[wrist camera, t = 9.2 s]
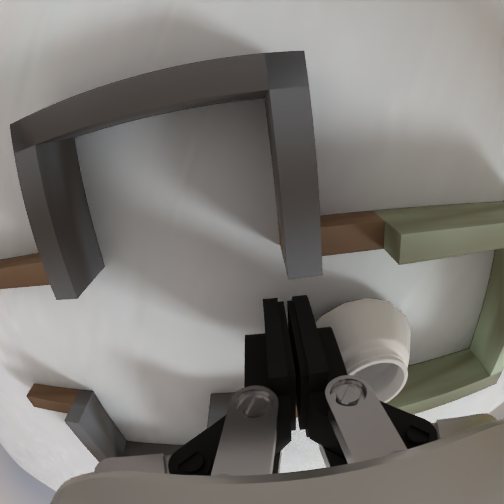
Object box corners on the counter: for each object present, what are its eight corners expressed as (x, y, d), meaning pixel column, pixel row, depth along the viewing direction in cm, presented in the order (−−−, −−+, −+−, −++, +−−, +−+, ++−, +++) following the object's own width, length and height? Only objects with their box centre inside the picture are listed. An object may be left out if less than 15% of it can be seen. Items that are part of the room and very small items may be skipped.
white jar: (292, 306, 12) (304, 387, 14) (303, 355, 10) (312, 434, 12) (407, 283, 12) (398, 365, 14) (439, 322, 9) (419, 407, 11)
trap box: (-51, 172, 10) (-84, 184, 7) (514, 90, 8) (552, 92, 6) (76, 439, 17) (66, 464, 15) (453, 409, 16) (466, 434, 14)
